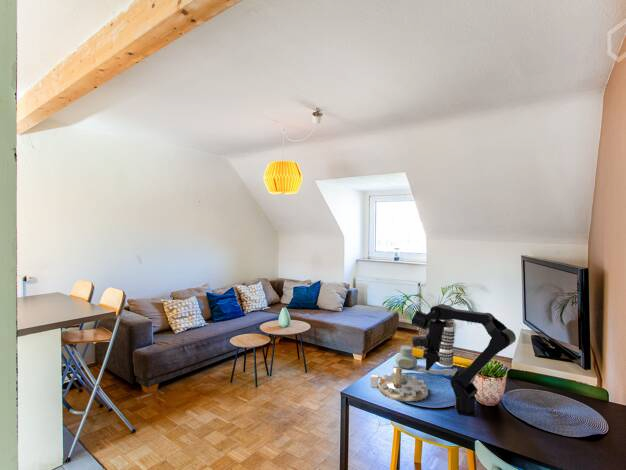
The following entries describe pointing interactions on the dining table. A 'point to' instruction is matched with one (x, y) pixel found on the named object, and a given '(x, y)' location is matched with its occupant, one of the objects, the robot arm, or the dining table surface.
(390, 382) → the sprocket
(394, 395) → the sprocket base
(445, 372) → the caliper
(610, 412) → the dining table surface
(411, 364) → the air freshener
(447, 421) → the dining table surface
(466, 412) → the robot arm
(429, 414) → the dining table surface
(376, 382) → the pointer post
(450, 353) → the decorative candle
